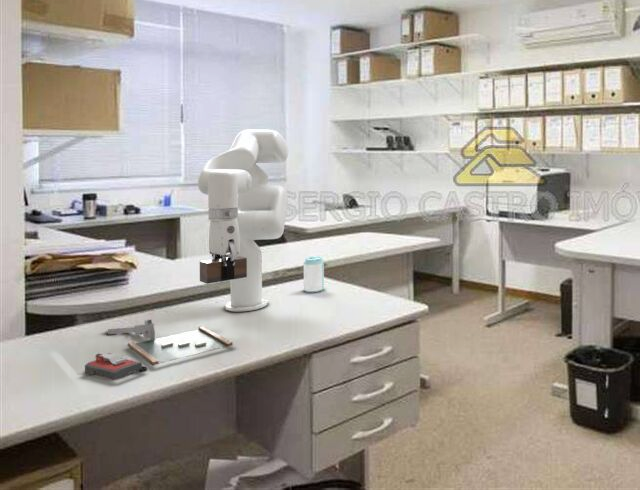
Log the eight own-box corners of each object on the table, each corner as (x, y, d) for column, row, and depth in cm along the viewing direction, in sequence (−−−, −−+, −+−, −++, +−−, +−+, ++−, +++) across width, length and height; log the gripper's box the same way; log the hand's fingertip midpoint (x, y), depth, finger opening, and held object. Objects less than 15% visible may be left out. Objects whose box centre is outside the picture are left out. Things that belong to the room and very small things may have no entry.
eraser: (199, 281, 160) (199, 261, 160) (239, 274, 168) (238, 255, 168) (207, 283, 157) (207, 263, 156) (246, 277, 165) (246, 257, 165)
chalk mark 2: (177, 345, 148) (177, 344, 148) (187, 343, 150) (187, 341, 150) (179, 347, 147) (179, 345, 147) (189, 344, 149) (189, 342, 149)
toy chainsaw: (156, 371, 134) (101, 359, 142) (156, 353, 134) (101, 341, 142) (118, 386, 126) (62, 372, 134) (118, 366, 126) (62, 353, 134)
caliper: (155, 343, 154) (154, 320, 153) (151, 344, 153) (150, 321, 152) (109, 332, 162) (108, 310, 162) (105, 333, 161) (104, 311, 161)
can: (300, 292, 207) (299, 259, 206) (309, 287, 214) (309, 255, 213) (318, 293, 205) (318, 260, 205) (327, 288, 212) (327, 256, 212)
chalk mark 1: (161, 346, 148) (161, 344, 148) (171, 343, 149) (171, 341, 149) (162, 347, 147) (162, 345, 147) (172, 344, 149) (172, 343, 149)
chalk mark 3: (194, 345, 148) (194, 343, 148) (204, 343, 150) (204, 341, 150) (196, 346, 147) (196, 344, 147) (206, 344, 149) (206, 342, 149)
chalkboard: (128, 349, 149) (128, 342, 149) (202, 332, 162) (202, 326, 162) (153, 369, 135) (153, 362, 135) (232, 349, 149) (232, 342, 149)
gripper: (250, 215, 159) (250, 280, 160) (223, 211, 171) (223, 272, 171) (222, 217, 154) (223, 285, 154) (197, 213, 165) (197, 276, 165)
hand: (223, 277), depth 162 cm, fingers closed on eraser, 5 cm apart
